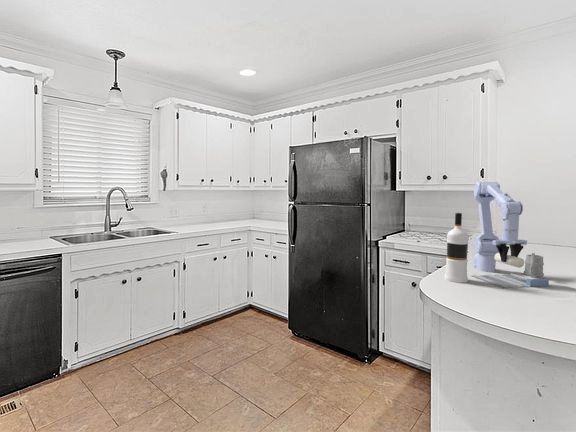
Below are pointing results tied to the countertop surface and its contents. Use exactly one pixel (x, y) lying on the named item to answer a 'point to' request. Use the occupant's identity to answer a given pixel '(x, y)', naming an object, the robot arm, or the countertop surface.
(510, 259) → the cream paper roll
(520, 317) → the countertop surface
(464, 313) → the countertop surface
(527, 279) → the board
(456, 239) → the vodka
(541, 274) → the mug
